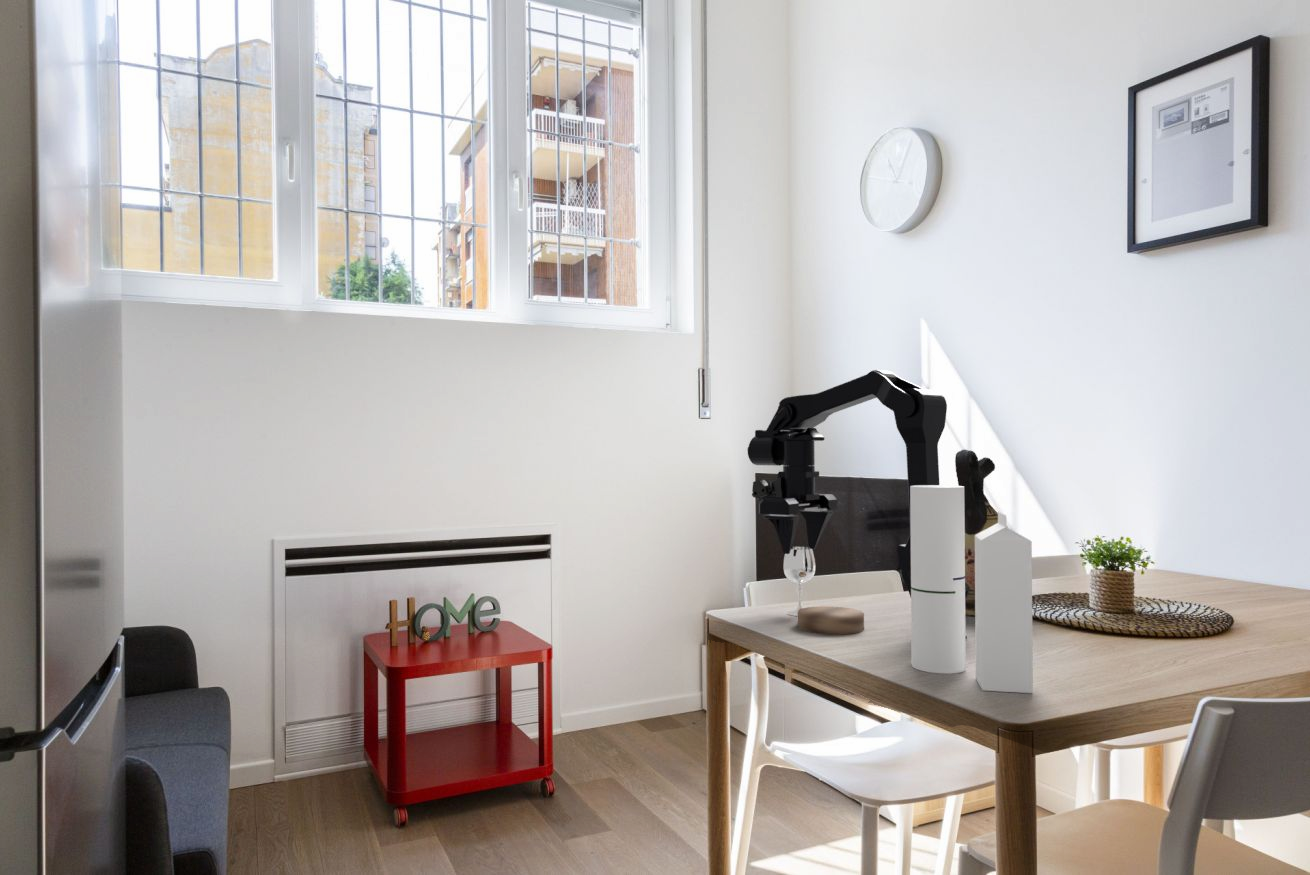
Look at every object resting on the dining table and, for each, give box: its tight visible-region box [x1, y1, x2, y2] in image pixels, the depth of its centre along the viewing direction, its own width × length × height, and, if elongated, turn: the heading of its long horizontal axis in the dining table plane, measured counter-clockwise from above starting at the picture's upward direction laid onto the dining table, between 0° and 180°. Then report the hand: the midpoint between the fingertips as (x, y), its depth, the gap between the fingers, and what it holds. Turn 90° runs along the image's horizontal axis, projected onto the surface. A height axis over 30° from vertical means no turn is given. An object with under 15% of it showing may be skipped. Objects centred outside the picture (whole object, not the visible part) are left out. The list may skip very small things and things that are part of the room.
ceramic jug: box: [954, 449, 998, 616], centre depth 157 cm, size 17×15×30 cm
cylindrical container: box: [909, 484, 967, 675], centre depth 119 cm, size 7×7×25 cm
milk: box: [974, 511, 1034, 694], centre depth 109 cm, size 6×6×22 cm
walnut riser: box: [797, 605, 865, 635], centre depth 144 cm, size 11×11×2 cm
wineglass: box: [783, 546, 816, 617], centre depth 156 cm, size 6×6×12 cm
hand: (799, 551), depth 156 cm, fingers open, 9 cm apart
